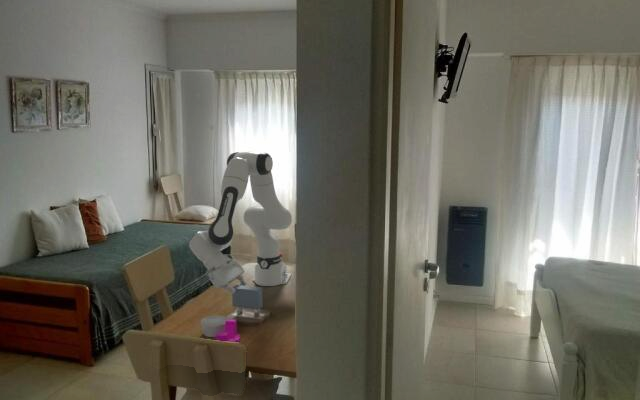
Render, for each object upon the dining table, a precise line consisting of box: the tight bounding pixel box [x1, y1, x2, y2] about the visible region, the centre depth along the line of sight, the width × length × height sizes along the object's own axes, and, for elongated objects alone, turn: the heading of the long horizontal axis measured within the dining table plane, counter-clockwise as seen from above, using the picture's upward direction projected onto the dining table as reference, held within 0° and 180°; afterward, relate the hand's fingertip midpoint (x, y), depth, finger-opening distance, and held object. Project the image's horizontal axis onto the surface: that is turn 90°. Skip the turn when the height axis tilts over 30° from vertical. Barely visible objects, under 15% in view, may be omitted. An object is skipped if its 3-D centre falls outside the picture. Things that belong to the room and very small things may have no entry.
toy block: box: [215, 319, 241, 344], centre depth 197 cm, size 15×6×8 cm, turn 175°
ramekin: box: [200, 315, 229, 338], centre depth 209 cm, size 11×11×5 cm
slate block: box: [231, 284, 264, 309], centre depth 222 cm, size 4×12×8 cm, turn 72°
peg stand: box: [226, 307, 273, 328], centre depth 223 cm, size 14×16×6 cm
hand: (239, 288), depth 223 cm, fingers open, 8 cm apart
